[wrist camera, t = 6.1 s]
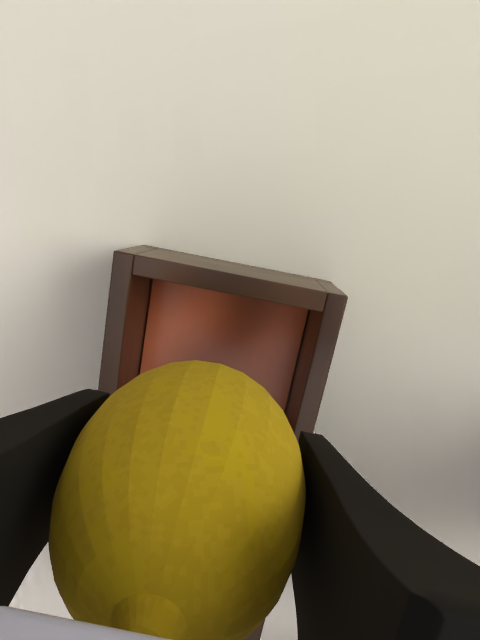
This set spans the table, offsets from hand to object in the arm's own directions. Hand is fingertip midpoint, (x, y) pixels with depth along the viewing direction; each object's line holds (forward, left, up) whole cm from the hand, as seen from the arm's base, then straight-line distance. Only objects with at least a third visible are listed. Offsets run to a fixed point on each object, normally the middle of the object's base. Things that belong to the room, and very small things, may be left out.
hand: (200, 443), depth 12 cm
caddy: (0, +5, -9) cm, 10 cm away
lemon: (0, 0, -2) cm, 2 cm away
